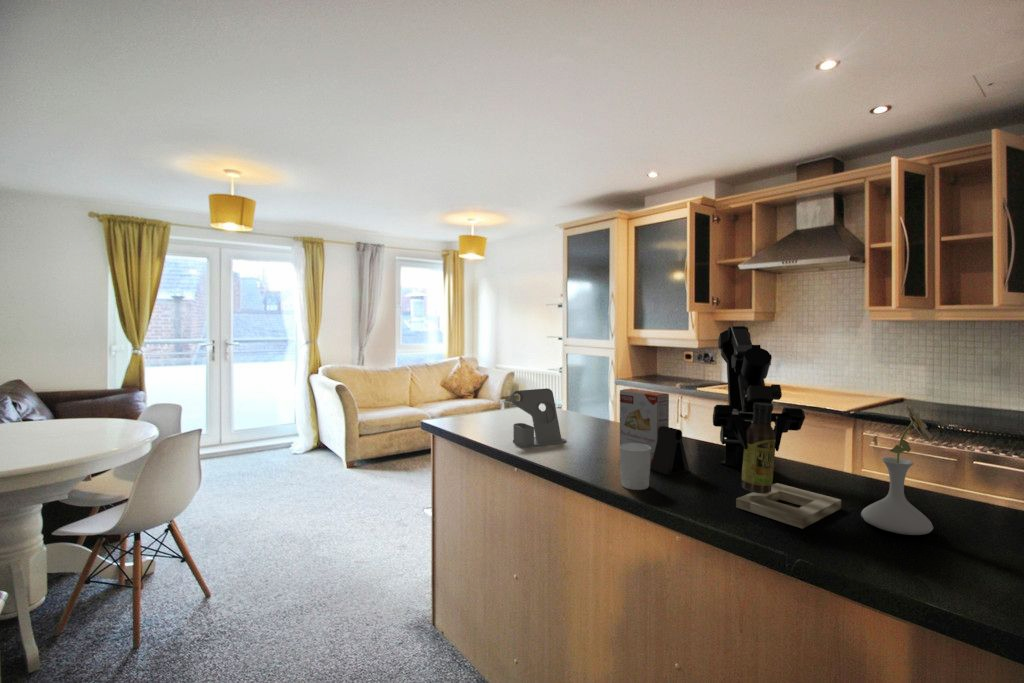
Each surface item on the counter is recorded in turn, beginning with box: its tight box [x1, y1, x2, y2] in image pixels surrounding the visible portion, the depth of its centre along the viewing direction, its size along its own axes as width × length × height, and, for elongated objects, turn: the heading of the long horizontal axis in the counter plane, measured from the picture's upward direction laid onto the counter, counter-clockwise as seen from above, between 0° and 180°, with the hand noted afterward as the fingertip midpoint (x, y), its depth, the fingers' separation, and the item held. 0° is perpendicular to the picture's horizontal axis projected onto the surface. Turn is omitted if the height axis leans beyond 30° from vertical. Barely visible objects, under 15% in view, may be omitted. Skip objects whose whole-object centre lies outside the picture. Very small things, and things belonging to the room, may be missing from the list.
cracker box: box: [619, 388, 670, 466], centre depth 147 cm, size 14×6×21 cm, turn 37°
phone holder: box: [510, 388, 567, 449], centre depth 170 cm, size 17×10×18 cm, turn 117°
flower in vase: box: [860, 403, 934, 536], centre depth 98 cm, size 13×11×25 cm
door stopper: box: [650, 426, 690, 476], centre depth 137 cm, size 9×6×12 cm, turn 120°
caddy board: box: [735, 482, 842, 529], centre depth 109 cm, size 18×14×2 cm
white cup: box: [618, 443, 651, 491], centre depth 124 cm, size 8×8×10 cm
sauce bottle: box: [741, 402, 776, 494], centre depth 110 cm, size 6×6×20 cm
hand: (761, 449), depth 109 cm, fingers closed on sauce bottle, 6 cm apart
